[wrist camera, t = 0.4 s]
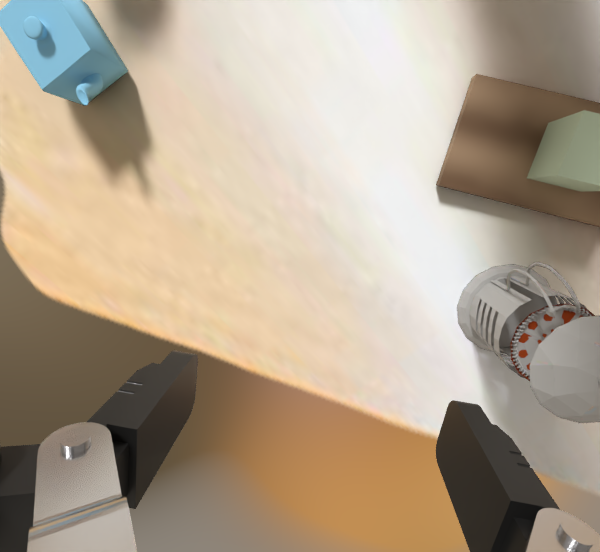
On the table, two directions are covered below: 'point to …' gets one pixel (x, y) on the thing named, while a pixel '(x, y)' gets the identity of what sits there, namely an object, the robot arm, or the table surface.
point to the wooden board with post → (512, 148)
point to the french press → (537, 336)
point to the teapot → (62, 47)
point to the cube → (570, 153)
